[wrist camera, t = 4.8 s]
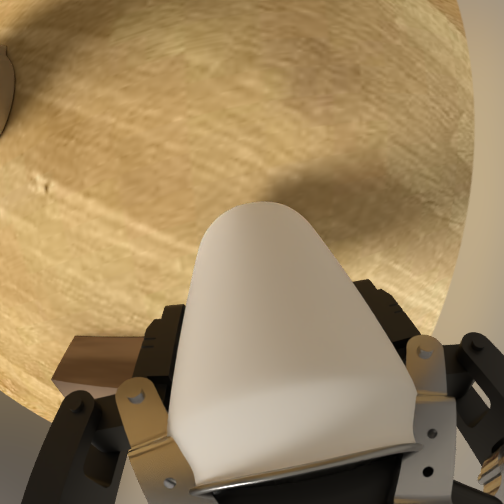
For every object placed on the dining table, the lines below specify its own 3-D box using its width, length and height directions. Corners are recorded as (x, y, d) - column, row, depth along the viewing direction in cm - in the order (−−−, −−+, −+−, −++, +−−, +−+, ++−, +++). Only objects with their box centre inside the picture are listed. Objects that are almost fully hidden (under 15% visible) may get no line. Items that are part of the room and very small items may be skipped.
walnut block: (74, 336, 22) (51, 379, 17) (187, 335, 23) (178, 390, 17) (118, 406, 27) (108, 445, 22) (211, 409, 28) (210, 454, 22)
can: (327, 204, 14) (497, 396, 3) (306, 306, 17) (371, 498, 6) (199, 194, 13) (116, 454, 2) (198, 304, 16) (180, 518, 5)
